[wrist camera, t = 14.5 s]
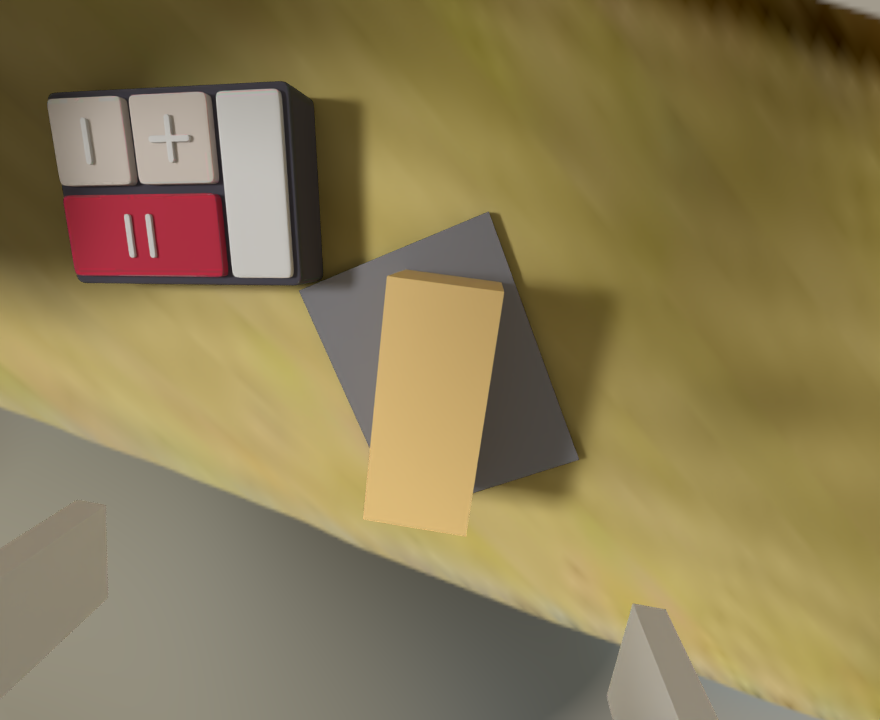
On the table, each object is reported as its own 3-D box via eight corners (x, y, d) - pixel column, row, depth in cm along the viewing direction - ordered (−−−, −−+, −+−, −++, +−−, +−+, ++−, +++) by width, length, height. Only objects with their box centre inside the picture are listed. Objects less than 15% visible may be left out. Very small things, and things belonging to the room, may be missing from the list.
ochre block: (465, 536, 28) (504, 291, 25) (363, 519, 29) (386, 276, 25) (470, 486, 34) (501, 282, 31) (384, 472, 35) (406, 269, 31)
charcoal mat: (302, 289, 33) (298, 290, 32) (488, 212, 31) (488, 211, 30) (401, 511, 36) (400, 515, 35) (577, 455, 34) (579, 459, 33)
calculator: (32, 88, 28) (282, 75, 26) (94, 107, 32) (314, 98, 30) (66, 284, 31) (297, 287, 29) (119, 279, 35) (324, 281, 33)
